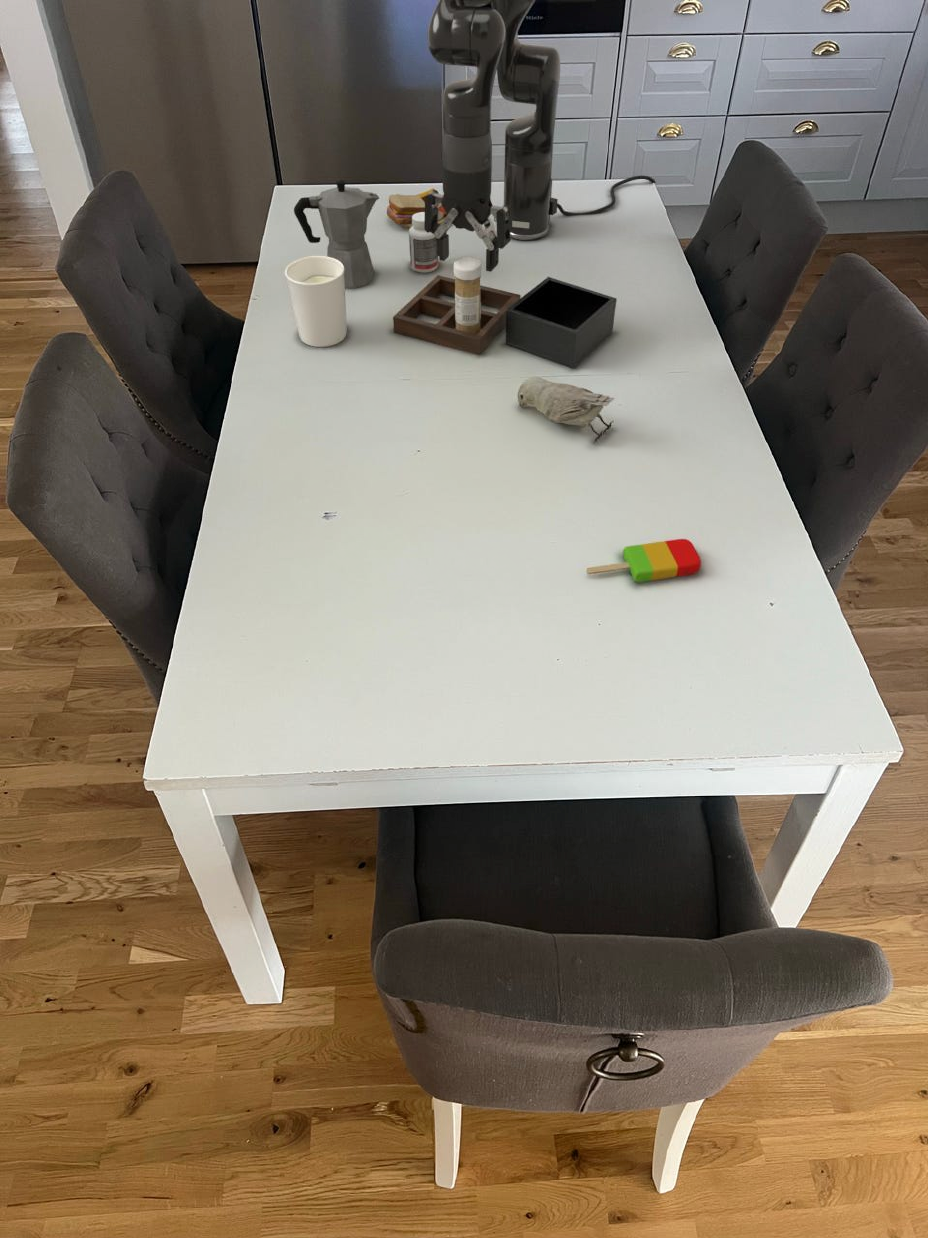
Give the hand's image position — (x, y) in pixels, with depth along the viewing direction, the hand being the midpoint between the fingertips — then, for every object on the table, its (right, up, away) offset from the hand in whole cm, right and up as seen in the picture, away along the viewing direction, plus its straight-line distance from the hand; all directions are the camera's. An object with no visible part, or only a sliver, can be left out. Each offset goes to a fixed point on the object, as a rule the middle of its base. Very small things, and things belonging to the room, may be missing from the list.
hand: (467, 263), depth 151 cm
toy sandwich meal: (-10, +25, +41) cm, 49 cm away
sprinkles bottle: (0, -9, +10) cm, 13 cm away
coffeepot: (-23, +7, +25) cm, 34 cm away
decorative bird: (+15, -28, -7) cm, 32 cm away
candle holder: (-25, -9, +11) cm, 29 cm away
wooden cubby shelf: (-2, -5, +13) cm, 14 cm away
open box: (+16, -10, +9) cm, 21 cm away
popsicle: (+23, -52, -29) cm, 64 cm away
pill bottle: (-8, +10, +27) cm, 30 cm away
